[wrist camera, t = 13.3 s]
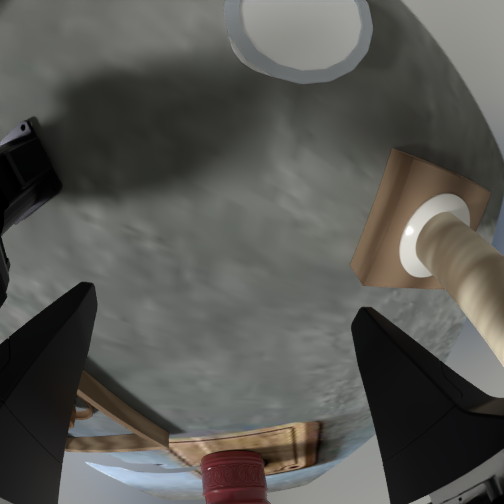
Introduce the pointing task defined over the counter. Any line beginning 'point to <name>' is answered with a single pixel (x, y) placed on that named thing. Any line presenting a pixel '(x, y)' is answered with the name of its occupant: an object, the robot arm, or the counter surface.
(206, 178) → the counter surface
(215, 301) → the counter surface
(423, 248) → the birch pillar
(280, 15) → the white short cylinder
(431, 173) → the walnut plinth
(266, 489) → the canister
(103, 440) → the oak tray rim
